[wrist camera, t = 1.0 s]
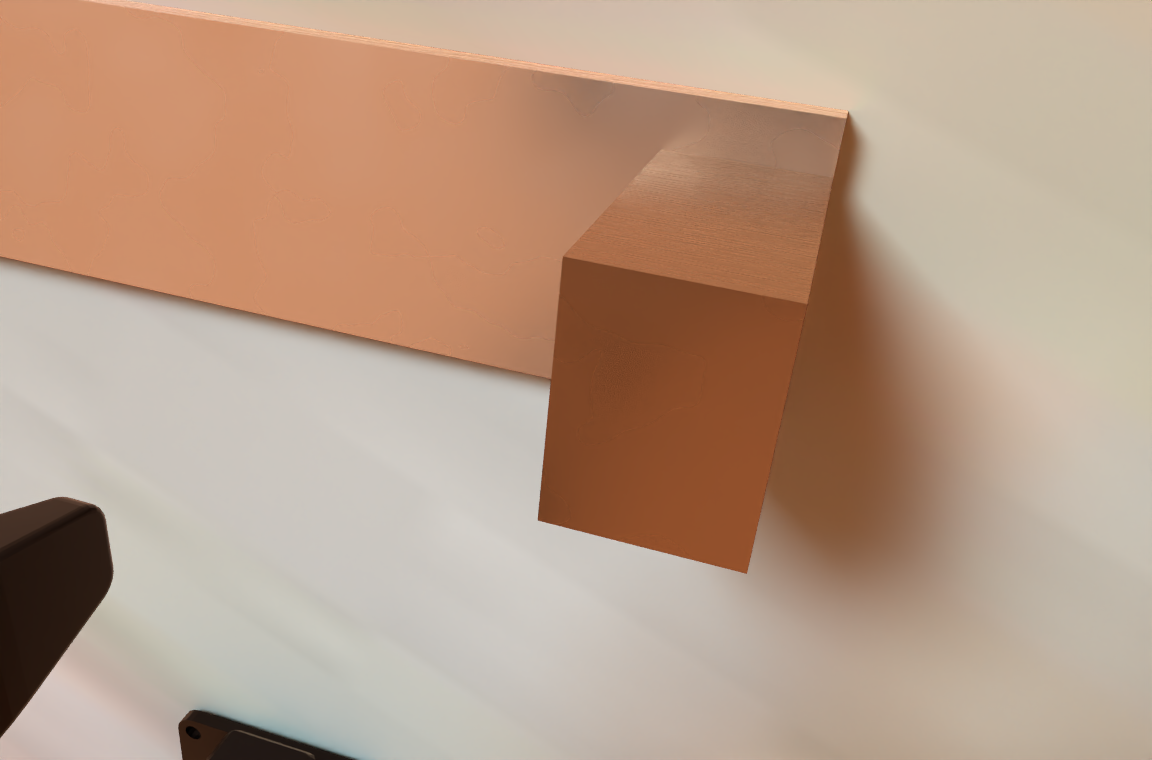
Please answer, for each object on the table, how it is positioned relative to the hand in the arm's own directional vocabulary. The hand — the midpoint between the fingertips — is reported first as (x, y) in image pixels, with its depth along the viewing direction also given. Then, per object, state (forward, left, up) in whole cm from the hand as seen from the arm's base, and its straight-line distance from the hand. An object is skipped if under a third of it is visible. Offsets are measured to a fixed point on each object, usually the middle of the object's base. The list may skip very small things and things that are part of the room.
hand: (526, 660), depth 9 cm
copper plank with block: (0, +11, -12) cm, 16 cm away
